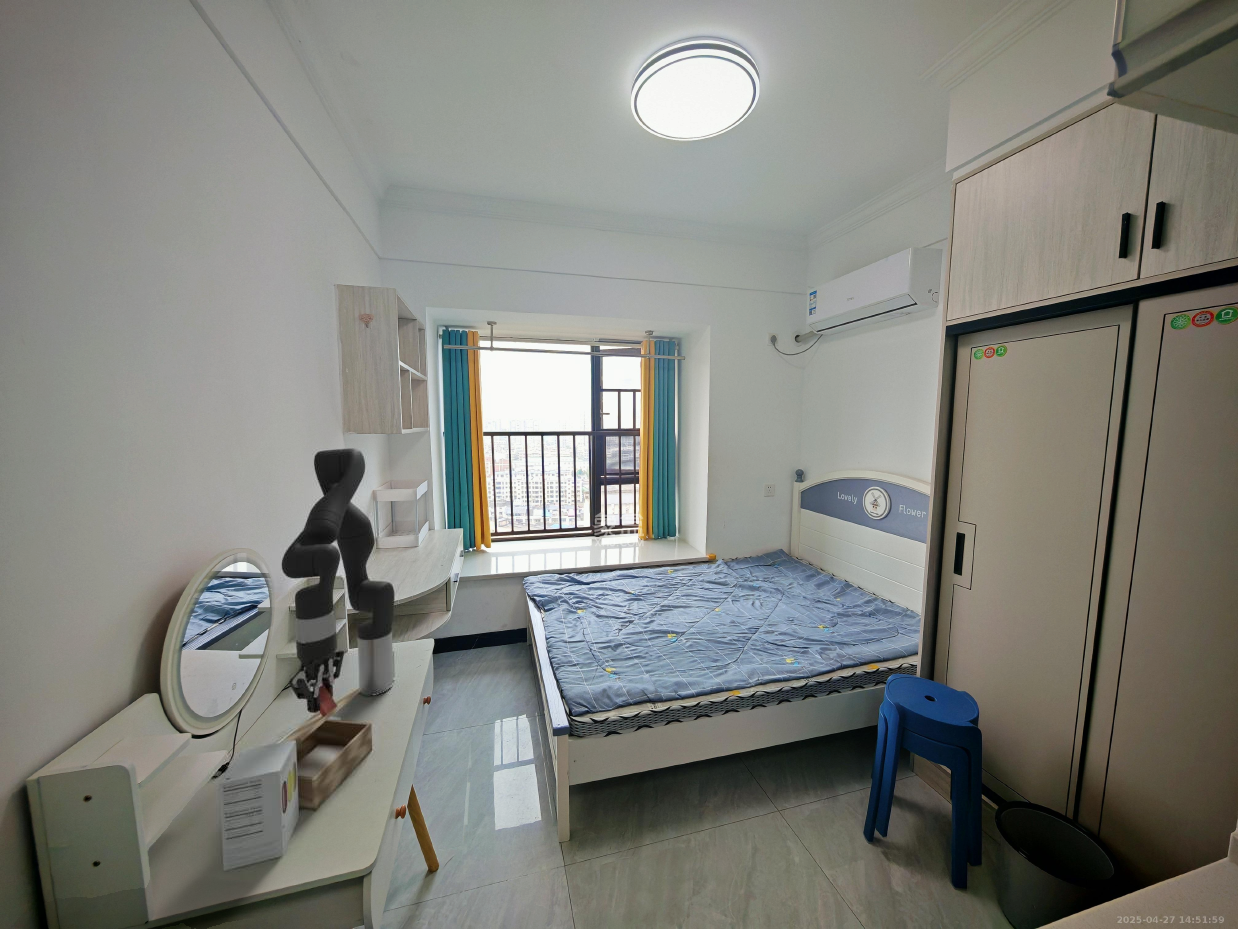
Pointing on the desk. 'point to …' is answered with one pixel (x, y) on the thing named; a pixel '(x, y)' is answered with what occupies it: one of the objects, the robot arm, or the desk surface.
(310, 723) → the lid
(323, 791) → the mailer base
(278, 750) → the supplement box
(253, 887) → the desk surface
